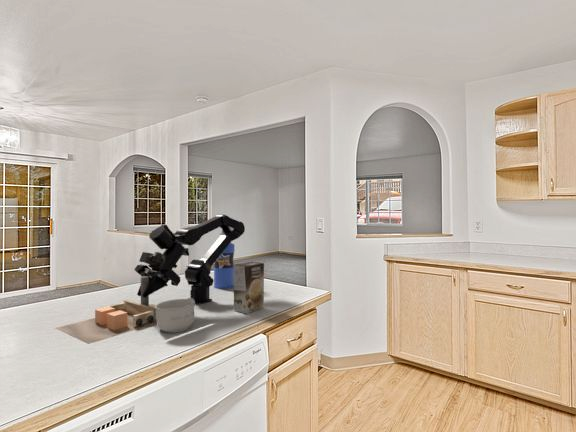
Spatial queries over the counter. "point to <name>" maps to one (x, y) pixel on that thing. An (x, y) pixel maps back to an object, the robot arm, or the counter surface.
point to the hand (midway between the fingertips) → (140, 296)
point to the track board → (99, 329)
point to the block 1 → (102, 315)
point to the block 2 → (117, 320)
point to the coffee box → (248, 287)
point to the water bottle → (224, 269)
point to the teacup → (175, 315)
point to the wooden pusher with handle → (138, 307)
